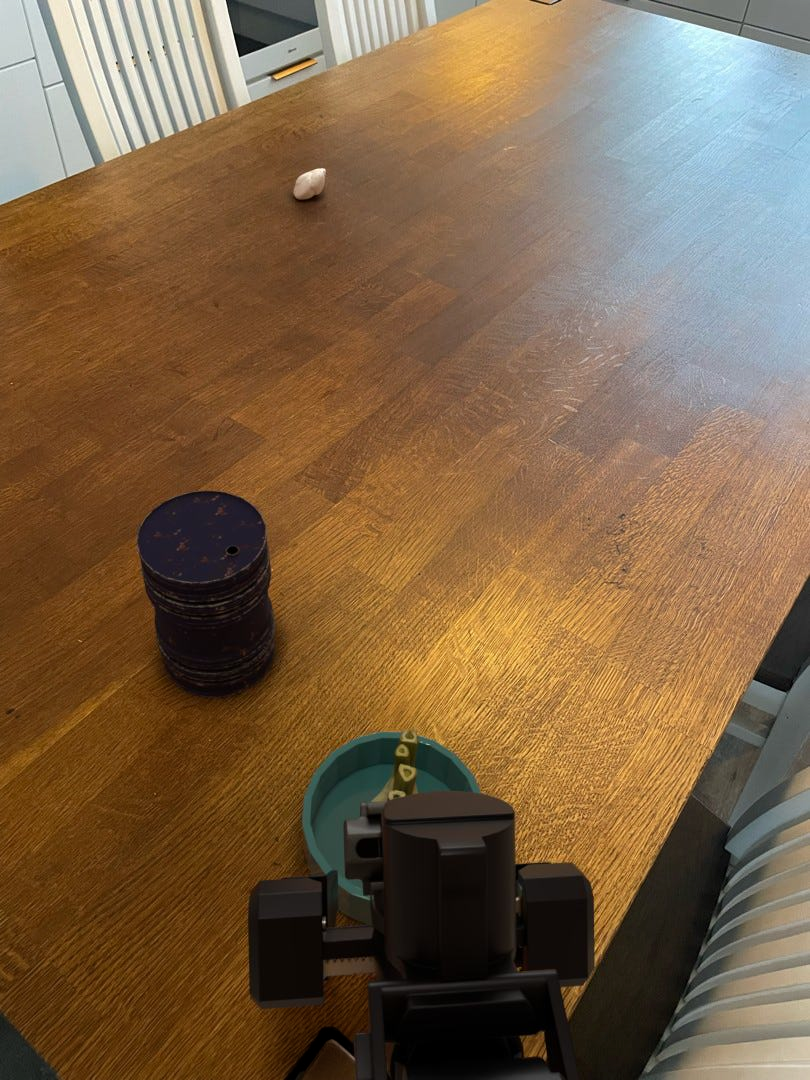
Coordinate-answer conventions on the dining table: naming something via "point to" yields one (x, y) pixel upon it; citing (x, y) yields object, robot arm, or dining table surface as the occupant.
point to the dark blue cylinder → (209, 591)
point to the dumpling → (310, 184)
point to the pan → (361, 779)
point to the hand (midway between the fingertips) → (406, 873)
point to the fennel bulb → (402, 769)
